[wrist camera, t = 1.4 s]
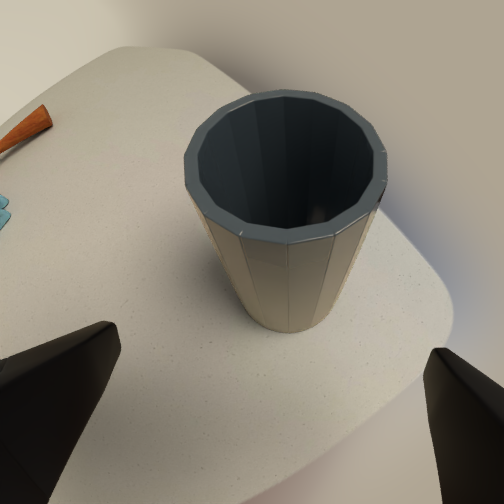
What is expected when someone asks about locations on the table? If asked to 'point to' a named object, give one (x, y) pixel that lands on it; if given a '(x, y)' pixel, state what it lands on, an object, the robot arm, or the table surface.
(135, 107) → the table surface
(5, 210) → the chair
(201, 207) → the cup
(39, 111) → the kendama
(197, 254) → the table surface
